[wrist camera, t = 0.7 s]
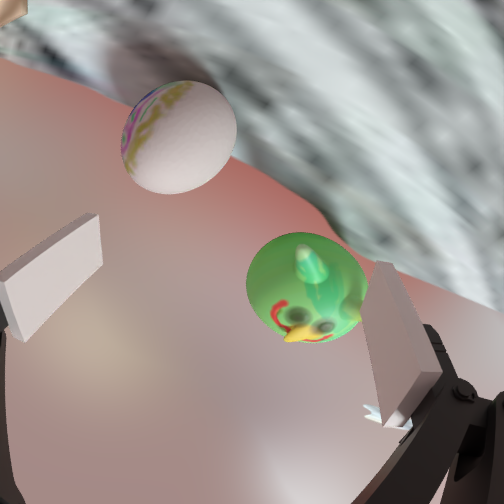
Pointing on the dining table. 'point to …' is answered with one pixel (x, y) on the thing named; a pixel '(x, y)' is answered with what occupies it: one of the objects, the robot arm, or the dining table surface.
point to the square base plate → (12, 10)
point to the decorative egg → (178, 137)
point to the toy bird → (306, 288)
